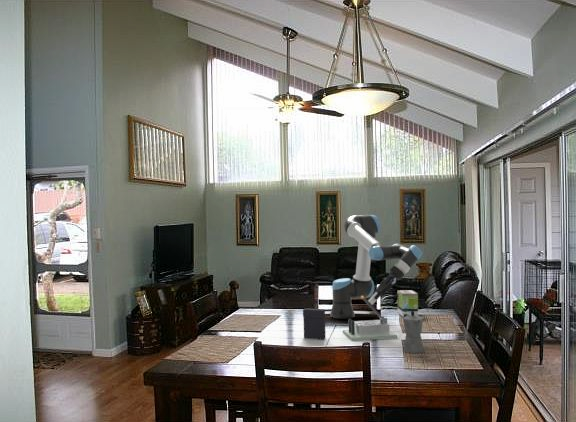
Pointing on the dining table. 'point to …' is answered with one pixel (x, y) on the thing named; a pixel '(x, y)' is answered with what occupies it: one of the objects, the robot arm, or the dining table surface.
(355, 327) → the knife switch
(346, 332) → the board
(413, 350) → the coffeepot
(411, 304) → the tea box
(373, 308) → the lever
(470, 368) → the dining table surface
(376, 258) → the robot arm
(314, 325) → the calculator
